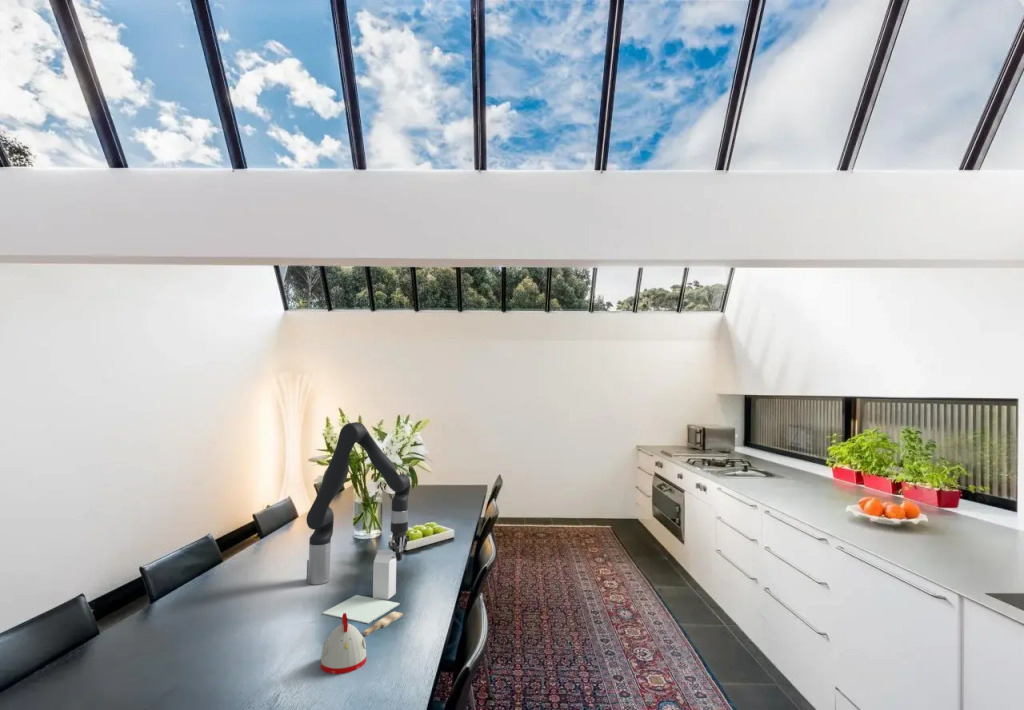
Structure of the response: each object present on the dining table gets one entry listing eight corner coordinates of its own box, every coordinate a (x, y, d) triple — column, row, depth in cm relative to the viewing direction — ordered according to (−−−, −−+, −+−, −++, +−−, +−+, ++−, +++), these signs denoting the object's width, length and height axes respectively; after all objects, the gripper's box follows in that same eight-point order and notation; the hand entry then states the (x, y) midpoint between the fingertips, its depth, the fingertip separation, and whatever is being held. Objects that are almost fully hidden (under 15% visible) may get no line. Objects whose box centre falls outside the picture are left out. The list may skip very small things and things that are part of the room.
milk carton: (388, 600, 220) (389, 553, 222) (372, 598, 222) (373, 552, 223) (395, 594, 227) (396, 548, 229) (380, 592, 229) (381, 547, 230)
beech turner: (370, 636, 188) (370, 632, 188) (359, 634, 189) (360, 630, 189) (403, 615, 206) (403, 612, 206) (393, 613, 208) (393, 610, 208)
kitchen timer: (322, 677, 161) (323, 626, 162) (319, 656, 173) (320, 609, 174) (369, 668, 166) (370, 618, 167) (363, 648, 179) (364, 603, 180)
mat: (322, 613, 207) (322, 612, 207) (356, 595, 225) (356, 594, 225) (368, 623, 198) (368, 622, 198) (399, 604, 216) (399, 603, 216)
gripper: (400, 516, 243) (400, 555, 242) (383, 522, 231) (382, 563, 230) (414, 518, 240) (414, 557, 239) (397, 524, 228) (396, 566, 227)
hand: (398, 560), depth 235 cm, fingers closed
